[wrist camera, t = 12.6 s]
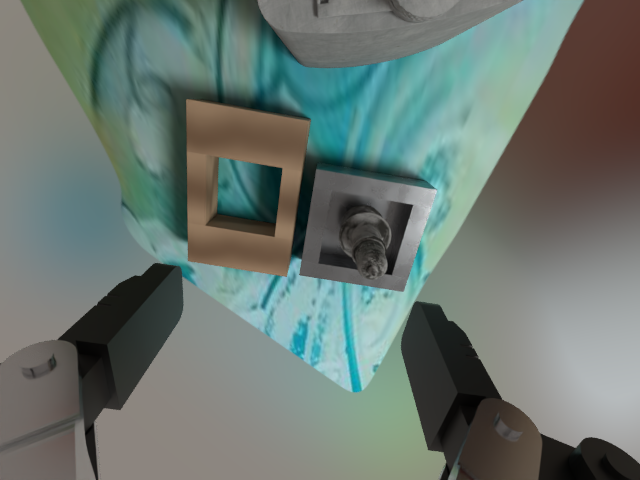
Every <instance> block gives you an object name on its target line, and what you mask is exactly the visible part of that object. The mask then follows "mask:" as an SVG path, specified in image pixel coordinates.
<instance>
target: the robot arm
mask: <svg viewBox="0 0 640 480" xmlns="http://www.w3.org/2000/svg"><path fill="white" fill-rule="evenodd" d="M182 311H183V287H182V271H181V268H180V267H179V266H174V265H167V264H160V263H155V264H153V265H152V266H151V267H150V268H149V269H148V270H147V271H146V272H145V273H144V274H143V275H142V276H133V277H131V278H129V279H127V280H125V281H123V282H121V283H119V284H118V285H117V286H116V287H115V288H114V289H112V290H111V291H110V292H109V293H108V295H107V296H105V297H104V298H103V299H101V301H99V302H98V304H97V306H94V307H93V308H92V309H91V310H89V311H88V312H87V313H86V314H85V315H84V316H83V317H82V318H81V319H80V320H79V321H77V322H76V323H75V324H74V325H73V326H72V327H71V328H70V329H68V330H67V331H66V332H65V333H64V334H63V335H62V336H61V337H60V338H59V339H58V340H51V341H44V342H39V343H36V344H33V345H30V346H28V347H26V348H23V349H21V350H19V351H17V352H16V353H14V354H12V355H11V356H10V357H8V358H7V359H6V360H5V361H4V362H3V363H0V480H101V474H100V462H99V450H98V438H97V426H96V421H95V420H96V418H97V417H98V415H99V414H100V413H101V411H102V410H103V408H109V409H116V410H121V408H122V407H123V405H124V404H125V402H126V400H127V399H128V398H129V396H130V394H131V393H132V392H133V390H134V389H135V387H136V385H137V384H138V382H139V381H140V379H141V378H142V376H143V375H144V373H145V372H146V370H147V369H148V367H149V366H150V364H151V363H152V361H153V360H154V358H155V357H156V355H157V354H158V352H159V350H160V349H161V348H162V346H163V344H164V343H165V341H166V340H167V338H168V337H169V335H170V334H171V332H172V331H173V329H174V328H175V326H176V325H177V323H178V321H179V320H180V317H181V315H182ZM401 350H402V355H403V359H404V363H405V366H406V370H407V374H408V377H409V381H410V385H411V388H412V392H413V396H414V399H415V403H416V407H417V410H418V414H419V417H420V421H421V425H422V429H423V432H424V435H425V440H426V443H427V447H428V450H431V451H439V452H444V456H445V459H446V464H445V465H444V467H443V469H442V471H441V474H440V476H439V479H438V480H640V464H639V463H638V462H637V461H636V460H635V459H633V458H632V457H631V456H630V455H628V454H627V453H626V452H624V451H623V450H621V449H620V448H618V447H616V446H615V445H613V444H611V443H609V442H607V441H604V440H602V439H598V438H592V437H591V438H585V439H583V440H582V442H581V443H580V444H579V445H578V446H577V448H574V447H572V446H569V445H567V444H564V443H562V442H559V441H557V440H554V439H552V438H550V437H547V436H545V435H543V434H540V433H539V431H538V429H537V427H536V426H535V424H534V423H533V422H532V420H531V419H530V418H529V417H528V416H527V415H526V414H525V413H524V412H522V411H521V410H520V409H519V408H517V407H515V406H514V405H512V404H510V403H509V402H506V401H504V400H502V398H501V396H500V394H499V393H498V391H497V389H496V387H495V386H494V384H493V382H492V380H491V378H490V376H489V375H488V373H487V371H486V369H485V368H484V366H483V364H482V362H481V360H480V359H478V355H477V353H476V351H475V350H474V349H473V348H472V344H471V343H470V341H469V339H468V337H467V335H466V334H465V332H464V331H463V330H461V329H460V328H459V327H458V326H457V325H456V324H455V323H454V322H453V321H448V320H447V318H446V316H445V314H444V312H443V310H442V308H441V307H440V305H438V304H432V303H425V302H418V301H417V302H415V303H414V305H413V307H412V310H411V313H410V315H409V318H408V321H407V324H406V327H405V330H404V332H403V336H402V341H401Z"/></svg>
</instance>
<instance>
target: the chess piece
mask: <svg viewBox="0 0 640 480" xmlns="http://www.w3.org/2000/svg"><path fill="white" fill-rule="evenodd" d="M339 242H340V246H341V248H342V249H343V251H344V252H345V253H346V254H347V255H348V256H350V257H352V259H353V261H354V262H355V263H356V264H357V269H358V272H359V273H360V275H361V276H362V277H364V278H365V279H369V280H374V279H378V278H380V277H381V276H383V275H384V273H385V272H386V270H387V259H386V253H387V248H388V246H389V244H390V242H391V229H390V227H389V225H388V223H387V222H386V220H385V219H384V218H382V216H381V214H380V213H379V212H378V210H376V209H375V208H373V207H371V206H368V205H359V206H355V207H353V208H351V209H349V210H348V211H347V212H346V213H345V214H344V216H343V218H342V220H341V229H340V232H339Z"/></svg>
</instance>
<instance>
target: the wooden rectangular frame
mask: <svg viewBox="0 0 640 480" xmlns="http://www.w3.org/2000/svg"><path fill="white" fill-rule="evenodd" d="M186 120H187V211H188V261H191V262H197V263H204V264H210V265H216V266H222V267H229V268H235V269H241V270H248V271H254V272H260V273H267V274H273V275H279V276H285V277H287V273H288V269H289V265H290V261H291V254H292V247H293V240H294V233H295V226H296V219H297V212H298V206H299V199H300V192H301V185H302V178H303V171H304V164H305V157H306V150H307V143H308V136H309V129H310V122H311V119H308V118H302V117H297V116H291V115H285V114H280V113H274V112H269V111H263V110H258V109H252V108H247V107H241V106H235V105H230V104H224V103H219V102H213V101H208V100H202V99H186ZM219 157H222V158H227V159H233V160H239V161H245V162H250V163H256V164H262V165H268V166H274V167H279V168H283V169H282V178H281V187H280V195H279V204H278V212H277V221H276V224H274V223H268V222H262V221H255V220H249V219H243V218H237V217H231V216H225V215H219V214H217V196H218V163H219Z"/></svg>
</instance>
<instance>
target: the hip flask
mask: <svg viewBox="0 0 640 480" xmlns="http://www.w3.org/2000/svg"><path fill="white" fill-rule="evenodd" d="M521 1H523V0H257V2H258V6H259V9H260V11H261V13H262V15H263V16H264V18H265V20H266V21H267V22H268V23H269V25H270V26H271V27H272V29H273V30H274V31H275V32H276V34H277V35H278V36H279V38H280V39H281V40H282V41H283V43H284V44H285V45H286V47H287V48H288V49H289V50H290V52H291V53H292V54H293V56H294V57H295V58H296V59H297V61H298V62H299V63H300V64H301V65H303V66H305V67H314V68H342V67H354V66H363V65H369V64H375V63H380V62H386V61H390V60H394V59H398V58H402V57H406V56H409V55H412V54H416V53H419V52H422V51H424V50H427V49H430V48H432V47H435V46H437V45H440V44H442V43H444V42H446V41H447V40H449V39H451V38H453V37H455V36H457V35H459V34H461V33H462V32H464V31H466V30H468V29H470V28H472V27H474V26H476V25H478V24H479V23H481V22H483V21H485V20H487V19H489V18H491V17H493V16H494V15H496V14H498V13H500V12H502V11H504V10H506V9H508V8H510V7H511V6H513V5H515V4H517V3H519V2H521Z"/></svg>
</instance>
